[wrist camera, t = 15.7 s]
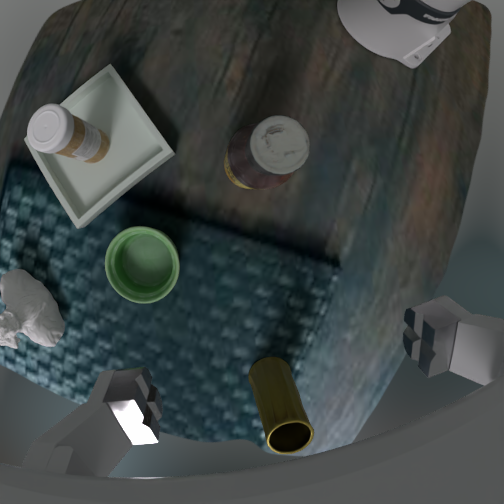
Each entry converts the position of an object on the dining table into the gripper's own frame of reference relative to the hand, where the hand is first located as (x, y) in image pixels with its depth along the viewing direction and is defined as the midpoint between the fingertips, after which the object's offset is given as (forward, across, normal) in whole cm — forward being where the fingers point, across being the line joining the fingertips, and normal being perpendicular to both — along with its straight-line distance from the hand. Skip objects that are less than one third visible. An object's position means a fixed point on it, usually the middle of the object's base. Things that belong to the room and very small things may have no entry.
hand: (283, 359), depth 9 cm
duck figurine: (+30, +30, +8) cm, 44 cm away
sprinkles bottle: (+32, +16, -11) cm, 38 cm away
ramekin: (+31, +12, +5) cm, 34 cm away
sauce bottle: (+33, -3, -4) cm, 33 cm away
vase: (+29, 0, +25) cm, 38 cm away
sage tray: (+33, +16, -11) cm, 38 cm away
